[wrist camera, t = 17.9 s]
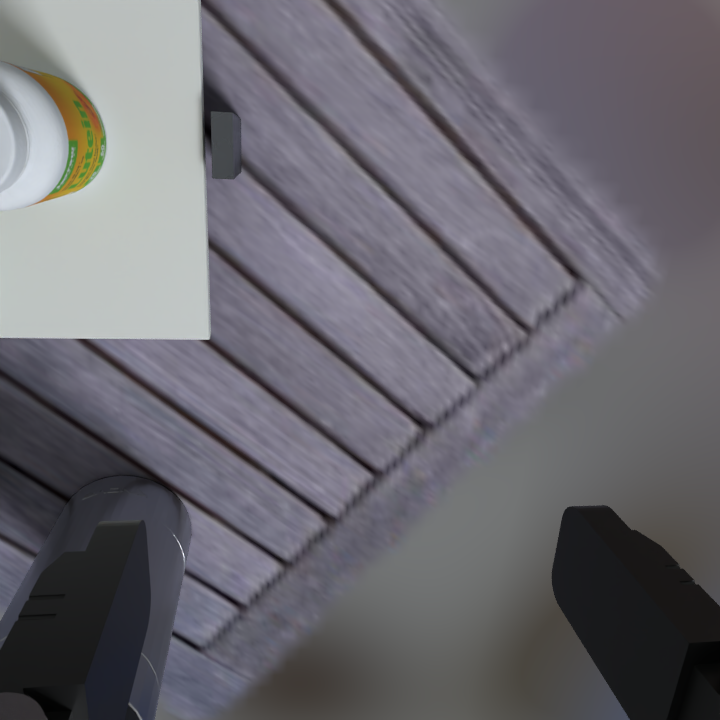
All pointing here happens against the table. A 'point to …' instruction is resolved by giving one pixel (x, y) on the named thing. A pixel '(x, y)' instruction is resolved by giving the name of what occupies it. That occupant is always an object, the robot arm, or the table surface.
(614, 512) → the robot arm
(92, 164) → the supplement bottle
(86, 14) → the levelling plate
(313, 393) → the table surface
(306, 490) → the table surface
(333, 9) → the table surface
